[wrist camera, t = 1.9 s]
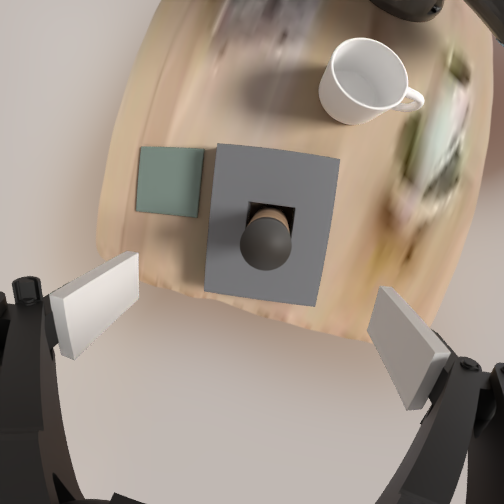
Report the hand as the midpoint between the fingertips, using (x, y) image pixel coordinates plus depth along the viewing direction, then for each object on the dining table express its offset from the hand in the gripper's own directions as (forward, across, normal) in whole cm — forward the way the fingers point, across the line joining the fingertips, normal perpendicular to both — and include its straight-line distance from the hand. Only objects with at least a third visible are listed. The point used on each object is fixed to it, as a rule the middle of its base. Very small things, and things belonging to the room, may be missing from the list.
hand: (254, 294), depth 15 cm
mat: (+23, -14, +4) cm, 27 cm away
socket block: (+23, 0, 0) cm, 23 cm away
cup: (+23, +10, +18) cm, 31 cm away
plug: (+23, 0, 0) cm, 23 cm away
